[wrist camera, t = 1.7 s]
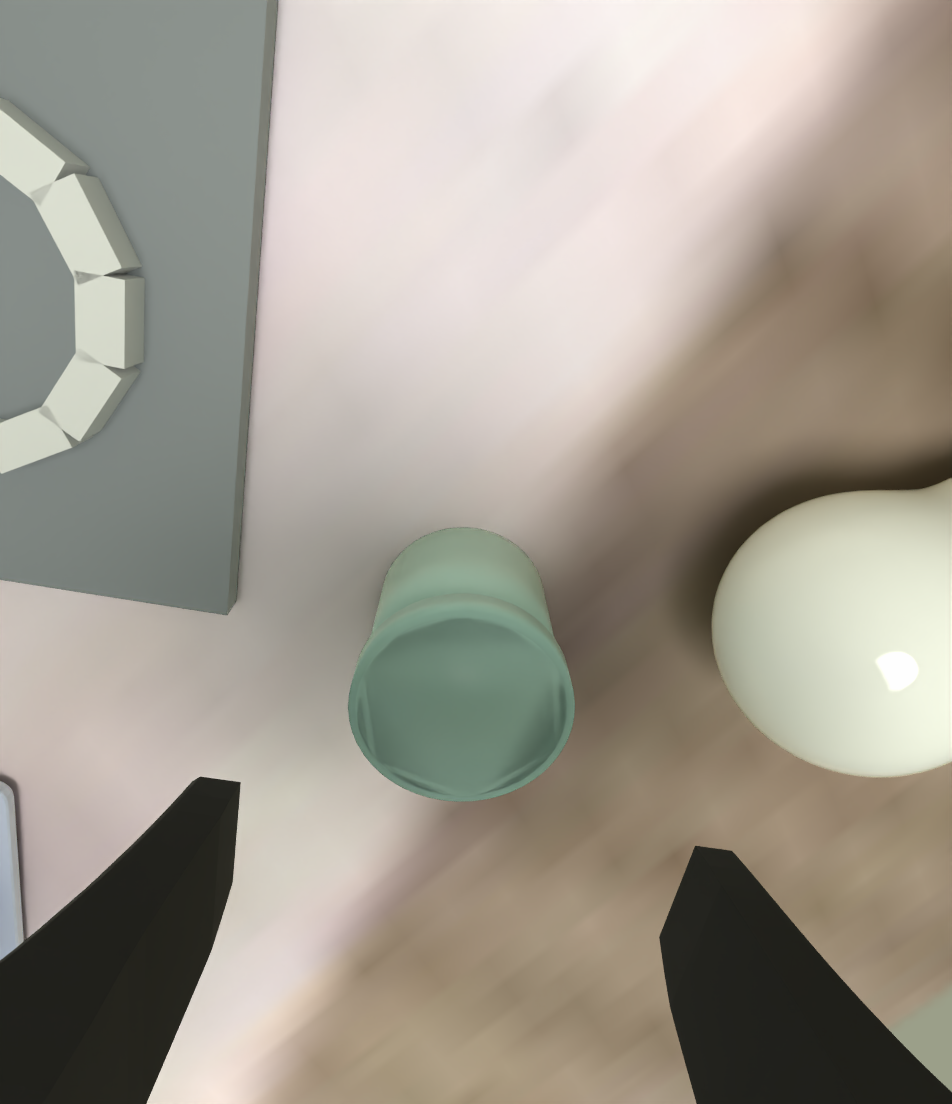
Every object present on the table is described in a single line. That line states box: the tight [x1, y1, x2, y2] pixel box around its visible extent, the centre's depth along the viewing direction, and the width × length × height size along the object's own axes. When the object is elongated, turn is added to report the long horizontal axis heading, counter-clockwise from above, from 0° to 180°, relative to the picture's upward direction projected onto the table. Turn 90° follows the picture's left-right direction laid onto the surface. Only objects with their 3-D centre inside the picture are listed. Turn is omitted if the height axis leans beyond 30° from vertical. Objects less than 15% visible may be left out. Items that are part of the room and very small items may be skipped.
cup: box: [348, 527, 575, 801], centre depth 18 cm, size 5×5×5 cm
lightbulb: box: [711, 478, 952, 778], centre depth 17 cm, size 6×6×11 cm
